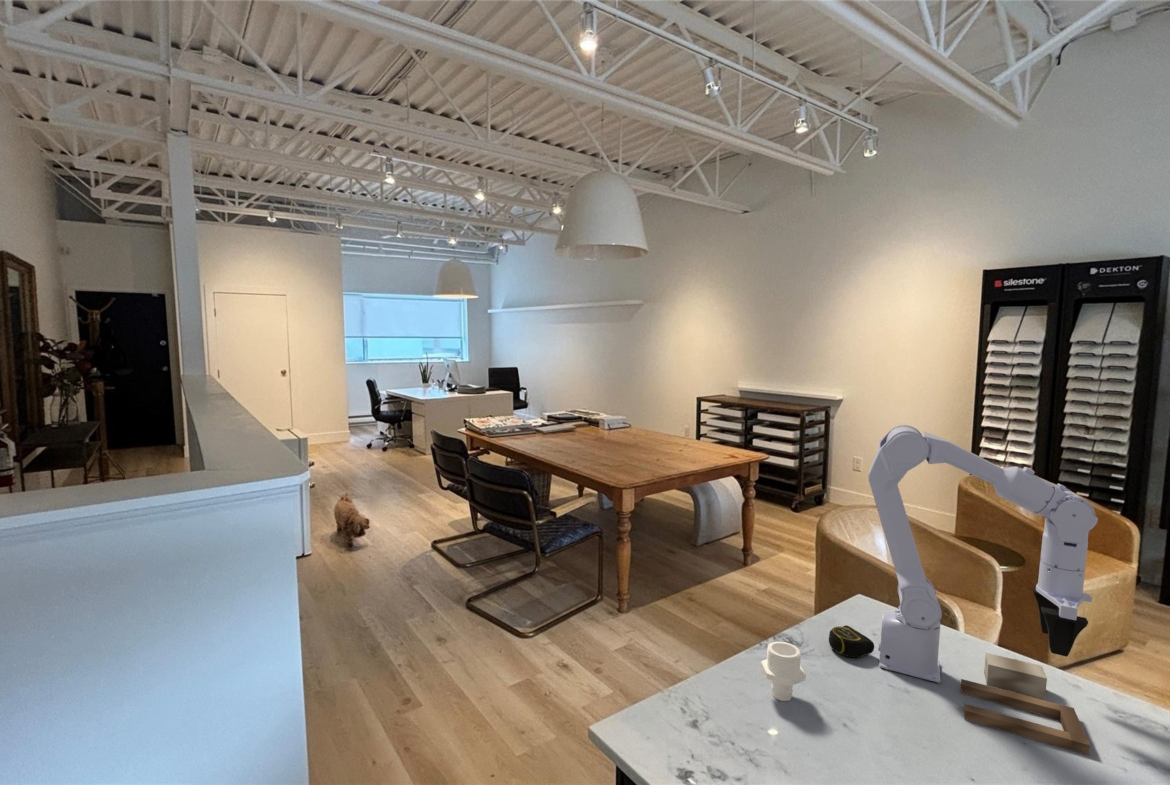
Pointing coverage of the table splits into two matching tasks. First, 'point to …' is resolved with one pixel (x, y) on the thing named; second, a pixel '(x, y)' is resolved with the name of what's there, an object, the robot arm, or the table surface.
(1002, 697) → the brown frame section
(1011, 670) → the beige rectangular block
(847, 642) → the tape measure
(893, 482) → the robot arm
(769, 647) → the pipe fitting
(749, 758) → the table surface
